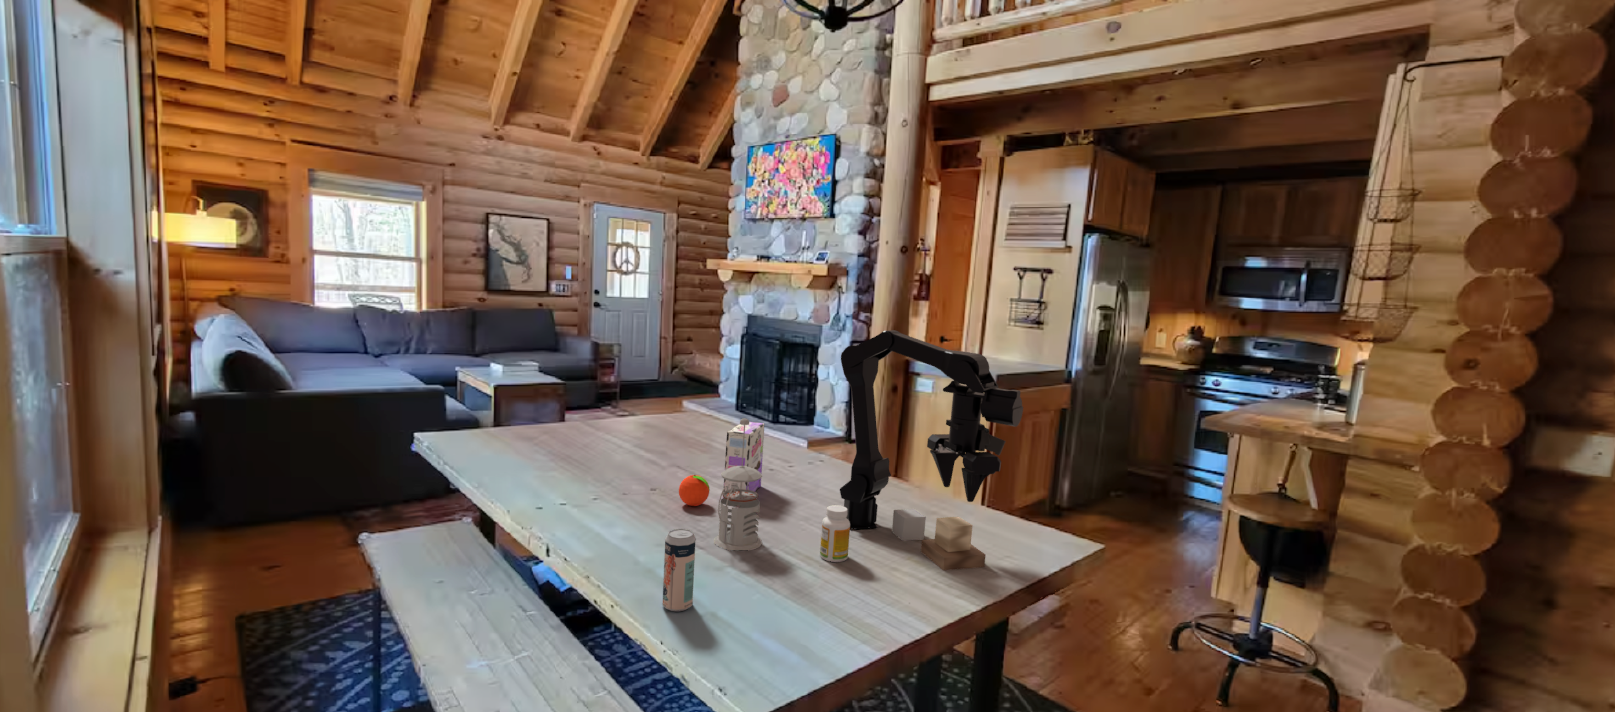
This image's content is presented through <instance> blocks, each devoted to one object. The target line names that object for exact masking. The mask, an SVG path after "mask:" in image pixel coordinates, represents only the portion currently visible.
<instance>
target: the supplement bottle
mask: <svg viewBox="0 0 1615 712" xmlns="http://www.w3.org/2000/svg"><path fill="white" fill-rule="evenodd" d="M847 512H848V509H847V508H846V507H844V505H840V504H839V505H838V504H836V505H835V504H834V505H828V506H827V507H826V516H825V517H823V519H822V521H821V522H822V523H821V531H820V532H821V533H820V534H821V535H820V548H819V549H820V550H819V556H820V557H821V558H822V560H825V561H827V562H830V561H831V563H841V562H845V561H847V559H848V557H849V546H850V544H849V543H850V532H851V531H850V530H851V529H850V522H849V520H848V519H847V518H846V517H847Z"/></svg>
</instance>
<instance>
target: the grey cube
mask: <svg viewBox="0 0 1615 712" xmlns="http://www.w3.org/2000/svg"><path fill="white" fill-rule="evenodd" d="M892 514H893V515H892V525H891V526H892V528H891V533H892V534H894V535H895V534H896V535H897V536H898V537H899V540H901V541H902V542H906V541H918V540H921V541H922V540H925V529H926V518H927V517H926V516H925V515H924V514H922V513H921V512H920V511H918V510H917V509H915V508H906V509H905V508H904V509H894V510H893V513H892ZM896 535H895V536H896ZM897 536H896V537H897ZM898 537H897V538H898Z"/></svg>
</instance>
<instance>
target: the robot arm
mask: <svg viewBox="0 0 1615 712" xmlns="http://www.w3.org/2000/svg"><path fill="white" fill-rule="evenodd" d="M892 352H894V353H896V354H899V355H900V356H901V355H902V356H904V357H907V358H908V359H909V358H910V359H912V360H915V361H917V362H921V363H923V364H926V365H928V366H931V367H933V368H936V369H938V370H939V371H941V372H942V373H943V374H944V375H945V376H946V377H948V378H950V379H951V381H950V383H949V384H947V385H946V386H945V387H943V388H942V391H943V392H945V393H949V394H950V393H951V394H952V400H951V411H950V412H951V413H950V419H946V421H945V425H946V426H948V427H949V431H948V433H946V434H945V433H944V434H940V433H938V434H937V433H936V434H935V433H933V434H931V435H930V436H929V437H928V438H927V443H926V448H928V449H930V450H929V453H930V454H931V456H932V458H933V461H934V462H935V466H936V469H937V472H938V473H939V477H940V478H941V481H942V485H943V487H944V488H950V487H951V486H950V485H951V483H952V478H953V477H952V476H953V472H954V467H955V464H956V463H955V461H956V460H958V458H959V457H961V458H962V464H963V465H962V466H963V467H961V474H962V480H963V487H964V491H965V492H964V493H965V496H966V497H965V498H966V500H967V502H968V503H973V502H975V501H974V500H975V499H976V496H977V495H978V492H979V490H980V488H981V486H982V484H983V483H984V481H985V479H986V478H987V477H989V476H990V475H994V474H995V473H996V472H998V473H999V472H1000V471H1001V468H1002V467H1001V465H1002V461H1001V459H1000V458H999V457H998V456H1000V455H1001V454H1002V451H1003V449H1004V446H1005V444H1006V440H1004V439H1001V438H999V437H997V436H994V435H992V434H990V429H989V428H988V427H986V426H985V424H983V423H981V418H984V420H985V421H986V422H989V423H994V424H1000V425H1004V426H1010V427H1016V428H1017V427H1018V426H1019V424H1020V422H1021V420H1022V417H1023V412H1024V406H1023V401H1022V398H1021V390H1020V389H1019V390H1017V389H1004V388H1000V387H999V385H998V383H997V382H996V379H995V378H994V376H993V375H992V373H991V371H990V363H989V362H988V360H987V357H985V355H982V354H980V353H975V352H969V351H963V350H953V349H946V348H944V347H941V346H938V345H935V344H933V343H929V342H926V341H925V340H921V339H918V338H915V337H912V336H910V335H906V334H904V333H902V332H900V331H898V330H894V329H891V330H883V331H882V332H880V333H879V334H877V335H875V336H873V337H871V338H869V339H867V340H864V341H861V342H860V343H858V344H854V345H853V344H852V345H848V346H847V347H845V348H844V350H843V351H842V352H841V354H840V363H841V367H842V372H843V375H844V377H845V378H846V380H847V383H848V385H850V389H851V400H852V402H851V405H852V414H853V427H854V438H855V455H854V458H853V462H852V463H851V464H852V465H851V470H850V480H848V481H847V482H846V483H845V484H844V485H843V486H842V487H840V488H839V493H840V499H841V500H842V499H843V500H844V501H843V506H844V507H846V508H847V509H848V512H847V517H846V518H847V519H848V520H849V522H850V530H861V529H862V530H863V529H877V528H878V524H876V522H877V517H878V506H879V505H878V504H877V497H876V496H879V495H880V494H881V491H882V490H883V489H884V488H885V487H887V485H888V484H889V480H890V479H889V477H892V474H891V471H890V458H889V457H885V458H884V457H883V455H882V454H881V451H880V449H879V441H878V427H877V414H876V403H875V402H876V401H875V400H876V399H875V392H874V391H875V389H874V385H875V381H876V379H877V376H878V373H879V364H880V363H879V362H880V361H882V359H884V358H886V357H887V356H889V355H890V354H891V353H892ZM986 450H987V451H986ZM992 452H993V453H994V454H993V453H992Z"/></svg>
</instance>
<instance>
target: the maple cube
mask: <svg viewBox="0 0 1615 712" xmlns="http://www.w3.org/2000/svg"><path fill="white" fill-rule="evenodd" d="M973 527H974V526H973V524H971V523H969V522H968V521H966V520H965V519H963V518H962V517H959V516H949V517H948V516H947V517H936V522H935V531H934V533H935V534H934V539H935V541H934V542H935V543H936V544H937V545H939V546H940V547H942V548H943V549H944V550H946V551H947V552H955V551H966V550H970V547H971V544H972V538H973V537H972V535H973Z"/></svg>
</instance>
